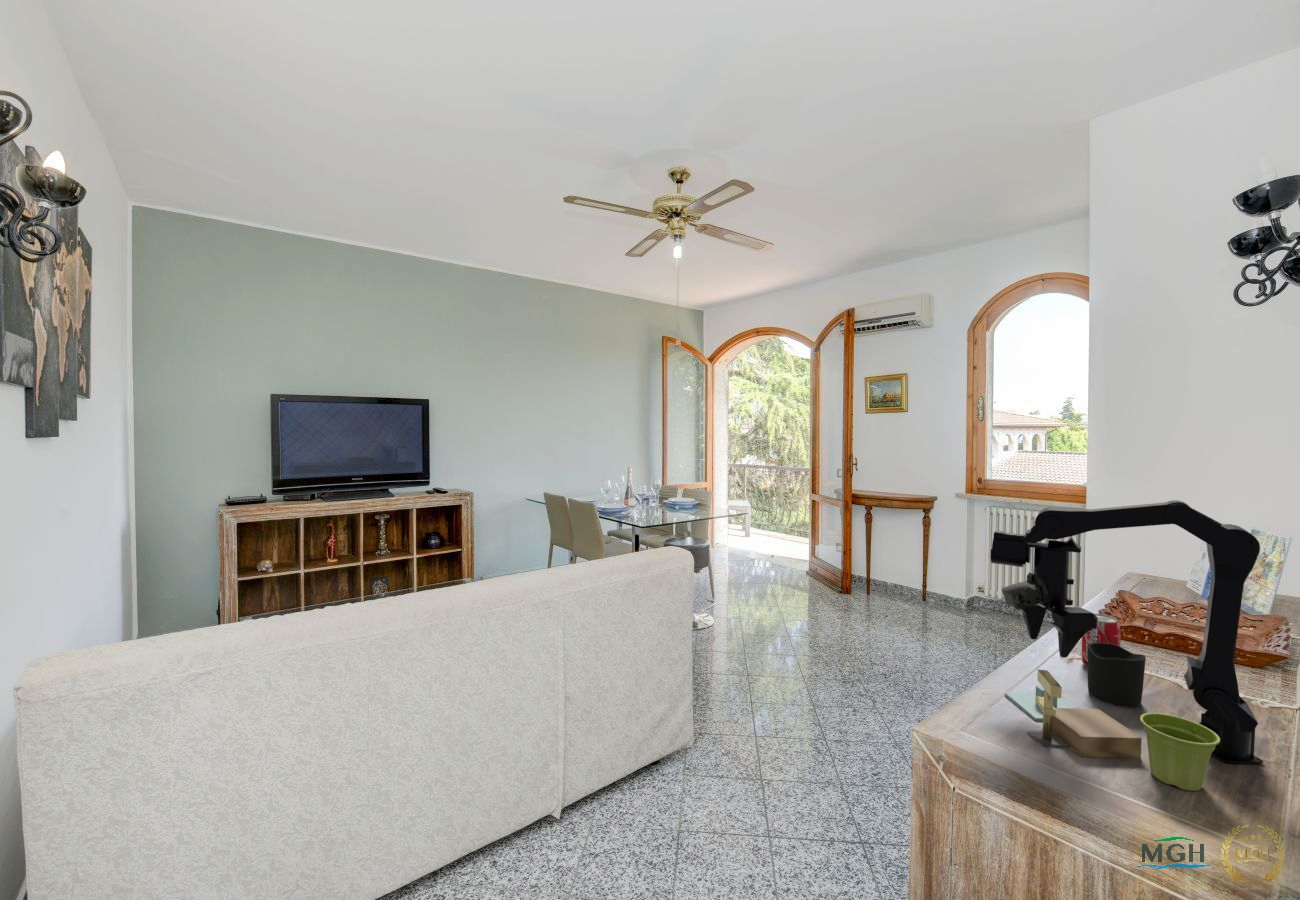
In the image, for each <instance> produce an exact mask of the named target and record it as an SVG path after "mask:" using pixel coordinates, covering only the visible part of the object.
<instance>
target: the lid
mask: <svg viewBox="0 0 1300 900" xmlns="http://www.w3.org/2000/svg"><path fill="white" fill-rule="evenodd" d="M1005 695H1006V696H1007V697H1008V698H1009V700H1010V702H1012V701H1013V702H1014V703H1015V704H1014V703H1013V702H1012V703H1013V704H1014V705H1016V706H1017V705H1018V706H1019V707H1020V708H1021V710H1022V712H1024V713H1025V712H1026V713H1027V714H1026V713H1025V714H1026V715H1027V716H1029V717H1030V716H1031V717H1032V718H1033V719H1032V718H1031V717H1030V718H1031V719H1032V720H1033V721H1035V720H1036V721H1035V722H1043V712H1042V710H1041V709H1040V707H1039V706H1038V705H1037V703H1036V702H1035V696H1040V697H1044V688H1043V687H1042V685H1035V692H1004V696H1005ZM1006 696H1005V697H1006ZM1007 697H1006V698H1007ZM1008 698H1007V699H1008ZM1018 706H1017V707H1018ZM1019 707H1018V708H1019ZM1053 707H1054V708H1076V707H1075V706H1074V705H1072V704H1071V703H1070V702H1069V701H1067V700H1065V699H1064V698H1062V697H1061V698H1055V697H1053ZM1020 708H1019V709H1020ZM1076 709H1078V708H1076Z"/></svg>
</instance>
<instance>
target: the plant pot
mask: <svg viewBox="0 0 1300 900" xmlns="http://www.w3.org/2000/svg"><path fill="white" fill-rule="evenodd" d="M1139 717H1140V718H1139V719H1140V720H1139V721H1140V723H1141V724H1142V725H1143V730H1144V732H1145V734H1146V743H1147V748H1148V749H1147V750H1148V760H1149V769H1150V772H1151V774H1152V775H1153V777H1155V778H1156V779H1158V780H1159V781H1160V782H1163V783H1164V784H1166V785H1173V786H1176V787H1178V788H1179V789H1181V790H1184V791H1190V792H1191V791H1193V792H1196V791H1200V790H1201V789H1202V788H1203V784H1204V781H1205V776H1206V774H1207V773H1206V772H1207V770H1208V765H1209V762H1210V760H1211V758H1212V757H1211V756H1212V755H1211V753H1212V752H1213V751H1214V750H1215V746H1216V745H1218V744H1219V743H1220V738H1219V736H1218V735H1217V734H1216V733H1215V732H1213V731H1212V730H1210V729H1208V728H1207V727H1205V726H1203V725H1200V724H1199V723H1198V722H1195V721H1193V720H1189V719H1187V718H1183V717H1181V716H1177V715H1174V714H1173V715H1172V714H1167V713H1162V712H1161V713H1160V712H1145V713H1143V714H1141V715H1140V716H1139Z"/></svg>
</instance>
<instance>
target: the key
mask: <svg viewBox="0 0 1300 900" xmlns="http://www.w3.org/2000/svg"><path fill="white" fill-rule="evenodd" d="M1036 676H1037V682H1038V683H1039V684H1040V686H1042V687H1043V688H1044V697H1040V696H1035V702H1036V703H1037V705H1038V706H1039V707H1040V709H1041V710H1042V712H1043V721H1042V731H1043V738H1045V739H1049V740H1051V739H1052V721H1053V715H1055V716H1056V709H1055V708H1054V707H1053V697H1055V698H1062V691H1063V690H1062V688H1063V687H1062V686H1061V685H1060V683H1059V682H1058V680H1056V679H1055V677H1054V676H1053V675H1052V674H1051V672H1049V670H1045V669H1037V675H1036Z"/></svg>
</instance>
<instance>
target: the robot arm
mask: <svg viewBox="0 0 1300 900" xmlns="http://www.w3.org/2000/svg"><path fill="white" fill-rule="evenodd" d="M1162 525H1163V526H1165V525H1176V526H1178V527H1179V528H1181V529H1183V530H1184V531H1186V532H1187V533H1190V534H1191V535H1193V536H1194V537H1196V538H1198V539H1199V540H1201V541H1203V542H1204V543H1205V544H1206V549H1207V550H1206V551H1207V557H1208V562H1209V568H1210V574H1211V575H1210V576H1211V577H1210V578H1211V579H1210V584H1209V585H1210V586H1209V592H1208V593H1209V594H1208V601H1207V609H1206V618H1205V626H1204V634H1203V643H1202V647H1201V648H1202V649H1201V651H1200V653H1199V655H1198V657H1197V658H1195V657H1191V656H1186V662H1187V670H1186V672H1185V673H1184V675H1183V678H1184V680H1185V683H1186V686H1187V688H1188V690H1189V691H1191V693H1192V695H1193V698H1194V701H1195V702H1196V703H1197V704H1198V705H1199V707H1201V708H1202V709H1204V710H1206V711H1205V712H1204V713H1203V712H1201V714H1200V715H1201V716H1200V722H1199V723H1198V724H1200V725H1203V726H1205V727H1207V728H1208V729H1210V730H1212V731H1213V732H1215V733H1216V734H1217V735H1218V736H1219V738H1220V743H1219V744H1218V745H1216V746H1215V750H1214V751H1213V752H1212V753H1211V756H1212V757H1214V758H1216V759H1218V760H1219V761H1221V762H1223V763H1226V764H1247V765H1249V764H1250V765H1251V764H1253V765H1255V764H1256V765H1263V764H1264V760H1263V759H1262V758H1260V757H1258V756H1256V755H1255V744H1256V743H1255V740H1256V728H1257V726H1258V724H1259V722H1258V721H1257V719H1256V716H1254V713H1253V712H1252V710H1251V708H1250V706H1249V704H1248V702H1247V701H1246V700H1244V699H1243V698H1242V697H1241V696H1240V690H1239V689H1240V688H1239V683H1238V678H1237V672H1236V668H1235V662H1234V661H1235V655H1236V654H1235V653H1236V647H1237V639H1238V631H1239V624H1240V615H1241V611H1242V610H1241V608H1242V603H1243V601H1242V600H1243V594H1244V587H1245V586H1244V585H1245V582H1246V580H1247V579H1248V577H1249V575H1250V573H1251V572H1252V570H1253V569H1254V567H1255V565H1256V562H1257V560H1258V557H1259V555H1260V551H1261V545H1260V542H1259V539H1257V538H1256V536H1255V535H1254V534H1252V533H1250V532H1249V531H1248V530H1246V529H1245V528H1243V527H1241V526H1240V525H1239V526H1238V525H1236V524H1231V523H1230V524H1227V523H1226V524H1225V523H1222V522H1221V523H1220V522H1219V521H1217V520H1216V519H1213V518H1211V517H1209V516H1208V515H1206V514H1205V513H1202V512H1200V511H1198V510H1196V509H1194V508H1192V507H1191V506H1189V504H1187V503H1186V502H1184V501H1182V500H1177V499H1173V500H1169V501H1165V502H1156V503H1146V504H1145V503H1144V504H1135V505H1124V506H1123V505H1122V506H1113V507H1102V508H1092V509H1091V508H1076V507H1060V506H1050V507H1049V506H1048V507H1044V508H1043V509H1042V510H1040V512H1038V514H1037V516H1036V517H1035V520H1034V525H1033V526H1032V527H1031V528H1030V529H1027V530H1026V532H1025V534H1021V533H1012V532H1011V533H1010V532H1005V531H1001V530H995V531H994V532H993V539H992V545H991V548H990V563H991V564H995V565H996V564H997V565H1001V566H1002V565H1004V566H1012V567H1019V568H1024V567H1025V566H1024V565H1026V564H1030V563H1031V557H1032V548H1033V549H1034V556H1033V572H1028V574H1027V576H1026V580H1024V581H1020V582H1015V583H1013V584H1010V585H1006V586H1004V587H1002V588H1001V592H1002V594H1003V598H1004V600H1005V603H1006V605H1009V606H1011V607H1013V609H1015V610H1020V611H1021V614H1022V616H1023V619H1024V622H1025V626H1026V629H1027V631H1028V636H1029V638H1030V639H1031V640H1037V639H1038V637H1039V634H1040V631H1041V630H1042V629H1041V628H1042V625H1043V622H1044V619H1045V616H1046V613H1047V610H1048V611H1050V612H1051V619H1052V621H1053V622H1052V621H1051V622H1050V623H1051V624H1050V625H1052V626H1053V627H1054V628H1055V630H1057V639H1058V652H1059V657H1061V658H1065V659H1066V658H1068V656H1069V655H1071V652H1072V651H1073V650H1074V648H1075V647H1076V646H1077V644H1078V643H1079V641H1080V640H1082V637H1083V636H1084V635H1085V633H1086V632H1087V631H1092V629H1097V628H1098V617H1097V616H1096V615H1095V614H1096V613H1094V612H1091V611H1089V610H1088V609H1085V608H1083V607H1077V606H1074V605H1073V604H1074V600H1073V599H1071V598H1069V597H1068V596H1069V585H1072V586H1073V585H1074V583H1075V582H1074V581H1075V580H1074V579H1073V578H1072V577H1069V574H1070V573H1069V571H1070V553H1081V552H1082V546H1080V545H1079V544H1078V543H1077V542H1076V541H1075V540H1074V538H1073V537H1074V536H1077V535H1081V534H1085V533H1088V532H1091V531H1099V530H1112V529H1126V528H1139V527H1151V526H1162ZM1069 537H1070V538H1069ZM1065 538H1069V539H1067V540H1066V541H1064V540H1061V539H1065ZM1046 539H1048V540H1047V541H1048V542H1045V543H1044V542H1042V541H1044V540H1046ZM1072 606H1073V607H1072Z"/></svg>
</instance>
